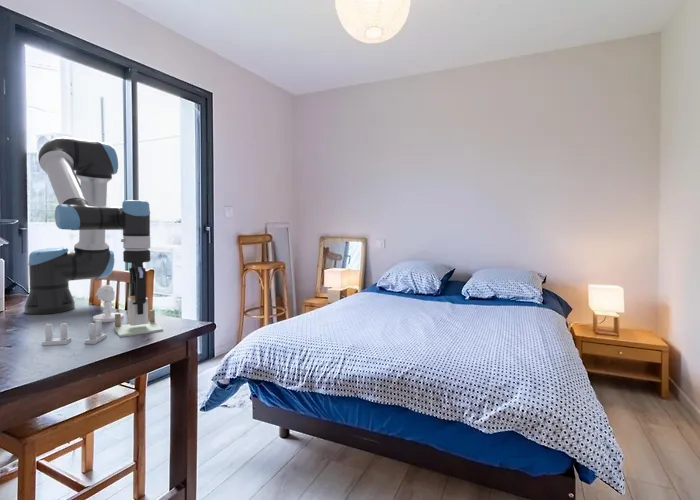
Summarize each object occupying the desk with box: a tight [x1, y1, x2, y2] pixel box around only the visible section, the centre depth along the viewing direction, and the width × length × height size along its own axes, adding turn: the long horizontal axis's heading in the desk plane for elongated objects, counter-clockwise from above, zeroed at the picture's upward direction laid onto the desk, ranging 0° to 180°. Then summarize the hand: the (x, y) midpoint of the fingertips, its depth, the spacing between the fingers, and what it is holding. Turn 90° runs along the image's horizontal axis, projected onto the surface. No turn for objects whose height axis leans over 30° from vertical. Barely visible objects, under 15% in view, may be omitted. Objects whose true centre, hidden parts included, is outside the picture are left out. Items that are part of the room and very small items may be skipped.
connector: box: [127, 295, 149, 326], centre depth 125 cm, size 5×5×9 cm
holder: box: [113, 309, 164, 338], centre depth 125 cm, size 12×12×5 cm
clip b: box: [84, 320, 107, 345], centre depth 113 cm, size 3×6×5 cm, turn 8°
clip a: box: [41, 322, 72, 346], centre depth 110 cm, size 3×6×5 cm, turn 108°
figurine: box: [92, 284, 125, 323], centre depth 137 cm, size 9×9×12 cm
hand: (138, 322), depth 125 cm, fingers closed on connector, 5 cm apart
